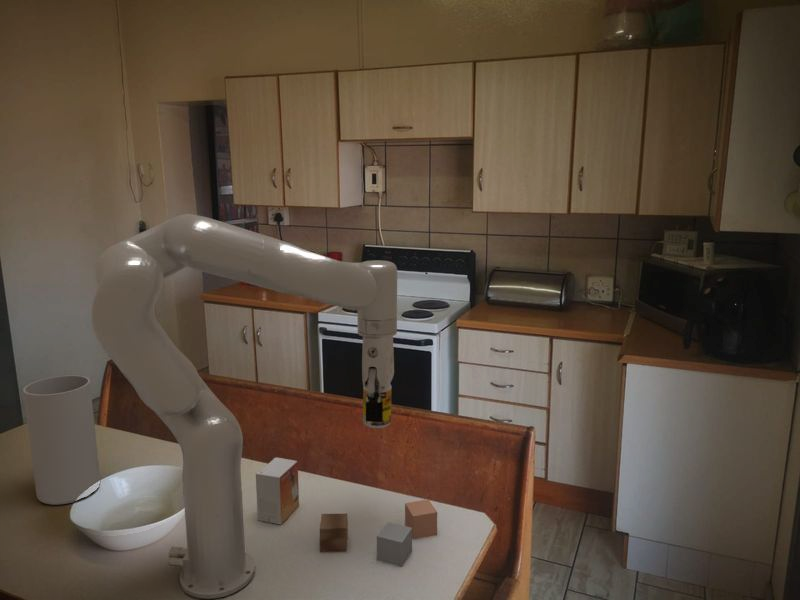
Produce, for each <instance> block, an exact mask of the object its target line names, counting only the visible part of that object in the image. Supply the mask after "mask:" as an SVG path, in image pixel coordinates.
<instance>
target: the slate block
mask: <svg viewBox="0 0 800 600" xmlns="http://www.w3.org/2000/svg"><path fill="white" fill-rule="evenodd" d="M412 553H413V538H412V528H411V527H406V526H405V525H402V524H397V523H393V522H388V521H387V522H386V523H385V524H384V526H383V527H382V528H381V530H380V531H379V532H378V534H377V535H376V561H378V562H381V563H382V562H383V563H386V564H389V565H394V566H397V567H400V568H402V567H403V566H404V565H405V563H406V561H407V560H408V558H409V557H410V555H411V554H412Z"/></svg>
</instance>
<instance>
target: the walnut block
mask: <svg viewBox="0 0 800 600" xmlns="http://www.w3.org/2000/svg"><path fill="white" fill-rule="evenodd" d="M348 516H349V515H348V513H321V516H320V522H319V523H320V524H319V553H347V552H348V538H349V537H348V536H349V533H348V532H349V531H348V530H349V529H348V528H349V527H348V525H349V524H348Z"/></svg>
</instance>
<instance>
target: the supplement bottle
mask: <svg viewBox="0 0 800 600" xmlns="http://www.w3.org/2000/svg"><path fill="white" fill-rule="evenodd" d="M362 386H363V385H362ZM375 386H379V383H375ZM392 389H393V388H392V384H391V383H390V385H389V386H388V387H387V388H384V387H382V395H381V401H382V402H383V420H382V422H370V421H366V393H367V387H364V386H363V387H362V392H363V393H362V422H363V424H364V426H366V427H368V428H370V429H383V428H386V427H388V426H389V425H390V424H391V423H392ZM375 392H377V394H378V389H375Z"/></svg>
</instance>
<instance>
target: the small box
mask: <svg viewBox="0 0 800 600" xmlns="http://www.w3.org/2000/svg"><path fill="white" fill-rule="evenodd" d="M255 486H256V487H255V489H256V490H255V491H256V492H255V493H256V510H257V511H256V512H257V520H258V521H261V522H266V523H270V524H276V525H281V526H282V524H283V523H284V522H285V521H286V520H287V519H288V518H289V517H290V515H292V514H293V513H294V511H296V510H297V509H298V508H299V506H300V500H299V499H300V498H299V497H300V495H299V487H300V486H299V462H298V461H297V460H294V459H287V458H282V457H278V456H277V457H274V458H273V459H272V460H271V461H270V462H269V463H267V464H266V465H265V466H264V467H263V468H261V469H260V470H258V471H257V472H256V473H255Z"/></svg>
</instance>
